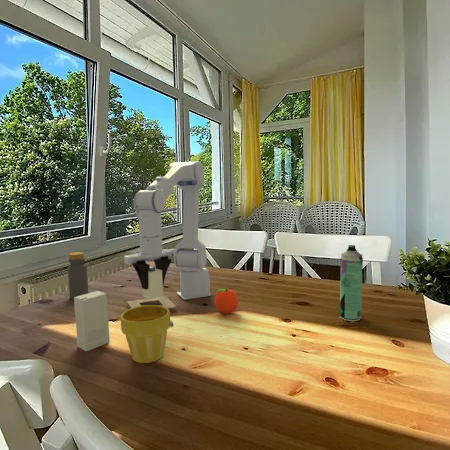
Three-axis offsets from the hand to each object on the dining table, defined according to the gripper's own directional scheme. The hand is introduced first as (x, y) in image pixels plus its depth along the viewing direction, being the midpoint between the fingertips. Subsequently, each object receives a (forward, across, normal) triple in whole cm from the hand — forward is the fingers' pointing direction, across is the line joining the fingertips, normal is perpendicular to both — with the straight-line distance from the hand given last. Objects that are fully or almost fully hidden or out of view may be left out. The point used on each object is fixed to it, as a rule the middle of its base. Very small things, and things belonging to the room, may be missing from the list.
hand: (152, 286), depth 94 cm
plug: (+3, 0, 0) cm, 3 cm away
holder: (+10, -5, -11) cm, 16 cm away
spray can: (+10, -40, +35) cm, 54 cm away
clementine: (+10, -19, +8) cm, 23 cm away
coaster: (+10, 0, 0) cm, 10 cm away
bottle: (+10, +7, -37) cm, 39 cm away
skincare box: (+10, +17, +2) cm, 20 cm away
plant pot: (+10, +11, +16) cm, 22 cm away
